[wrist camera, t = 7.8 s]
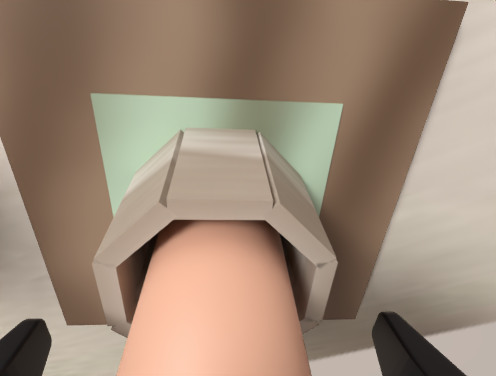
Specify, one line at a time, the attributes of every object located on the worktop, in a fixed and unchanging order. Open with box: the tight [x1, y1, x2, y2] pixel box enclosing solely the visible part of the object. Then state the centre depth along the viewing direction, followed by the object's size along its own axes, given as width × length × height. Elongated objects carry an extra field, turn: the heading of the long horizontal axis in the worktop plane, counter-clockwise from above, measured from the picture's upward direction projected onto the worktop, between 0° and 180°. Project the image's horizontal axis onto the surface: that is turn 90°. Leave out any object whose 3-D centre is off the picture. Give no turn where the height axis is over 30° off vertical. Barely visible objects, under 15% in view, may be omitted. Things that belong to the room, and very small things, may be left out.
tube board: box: [0, 0, 468, 338], centre depth 12 cm, size 16×16×6 cm
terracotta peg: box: [116, 220, 312, 376], centre depth 10 cm, size 4×4×9 cm
